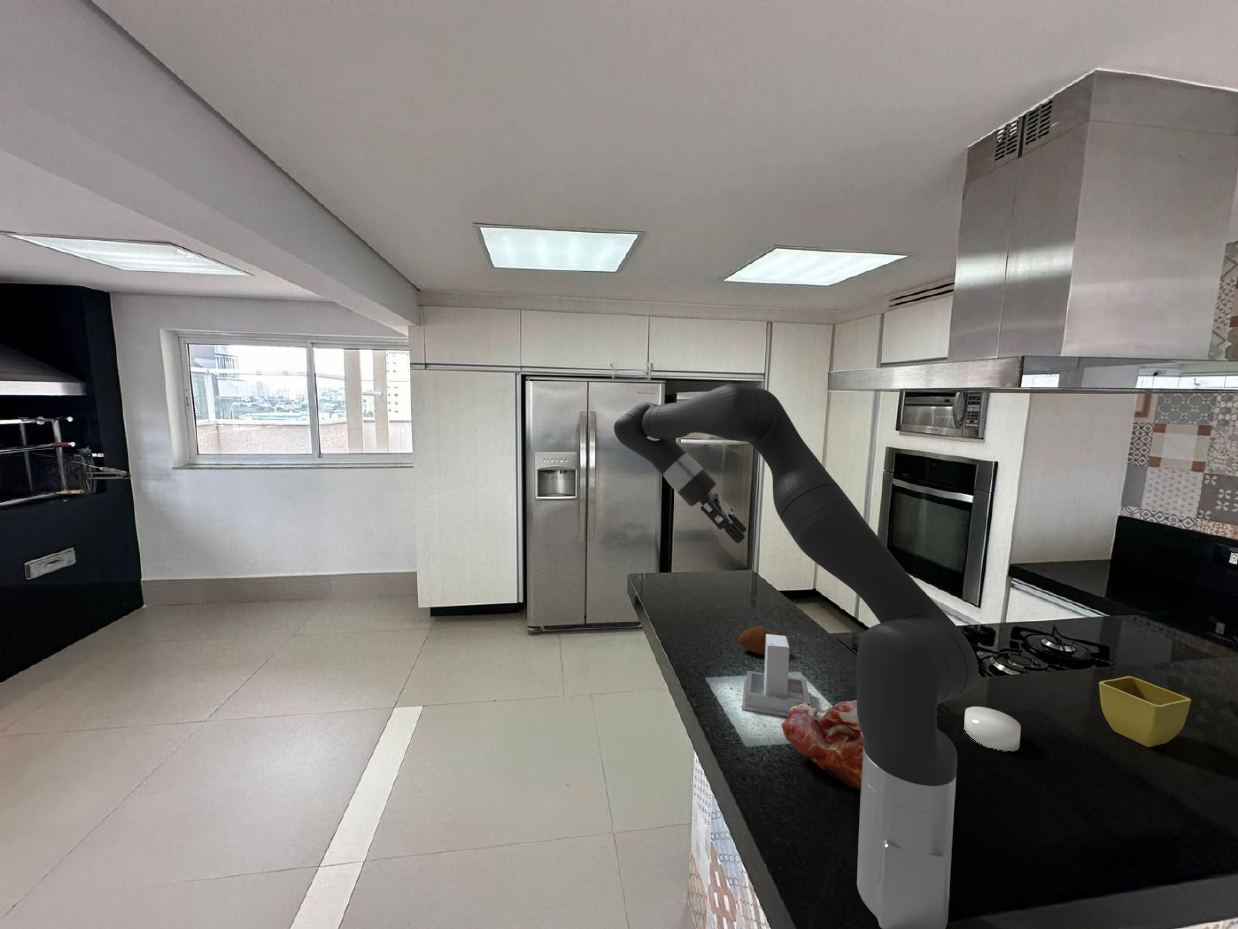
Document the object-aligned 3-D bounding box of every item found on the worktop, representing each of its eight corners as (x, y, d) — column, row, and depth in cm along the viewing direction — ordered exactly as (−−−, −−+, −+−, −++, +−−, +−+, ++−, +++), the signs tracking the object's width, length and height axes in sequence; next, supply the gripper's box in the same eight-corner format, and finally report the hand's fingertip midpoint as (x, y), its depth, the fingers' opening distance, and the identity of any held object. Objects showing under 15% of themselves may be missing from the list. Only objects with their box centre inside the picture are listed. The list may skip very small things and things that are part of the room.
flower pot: (1154, 757, 84) (1159, 706, 84) (1093, 727, 93) (1097, 681, 92) (1188, 749, 87) (1193, 699, 86) (1126, 721, 95) (1129, 675, 95)
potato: (788, 659, 119) (789, 633, 119) (740, 657, 120) (741, 631, 120) (781, 648, 125) (782, 623, 125) (735, 647, 126) (736, 622, 126)
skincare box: (787, 707, 97) (789, 647, 96) (765, 704, 98) (767, 645, 97) (784, 691, 103) (786, 635, 102) (763, 689, 104) (765, 633, 103)
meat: (781, 709, 98) (782, 659, 98) (902, 730, 91) (904, 678, 91) (779, 778, 78) (781, 717, 78) (933, 812, 72) (937, 746, 71)
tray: (812, 721, 94) (813, 705, 93) (742, 709, 97) (742, 694, 97) (807, 692, 104) (808, 678, 104) (744, 682, 108) (744, 669, 108)
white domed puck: (1028, 756, 84) (1030, 736, 84) (974, 747, 87) (975, 727, 86) (1006, 729, 92) (1007, 710, 92) (957, 722, 94) (958, 703, 94)
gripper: (697, 470, 98) (755, 531, 96) (705, 465, 112) (756, 519, 110) (670, 495, 100) (726, 555, 98) (681, 487, 114) (731, 540, 111)
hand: (742, 536), depth 104 cm, fingers open, 8 cm apart
